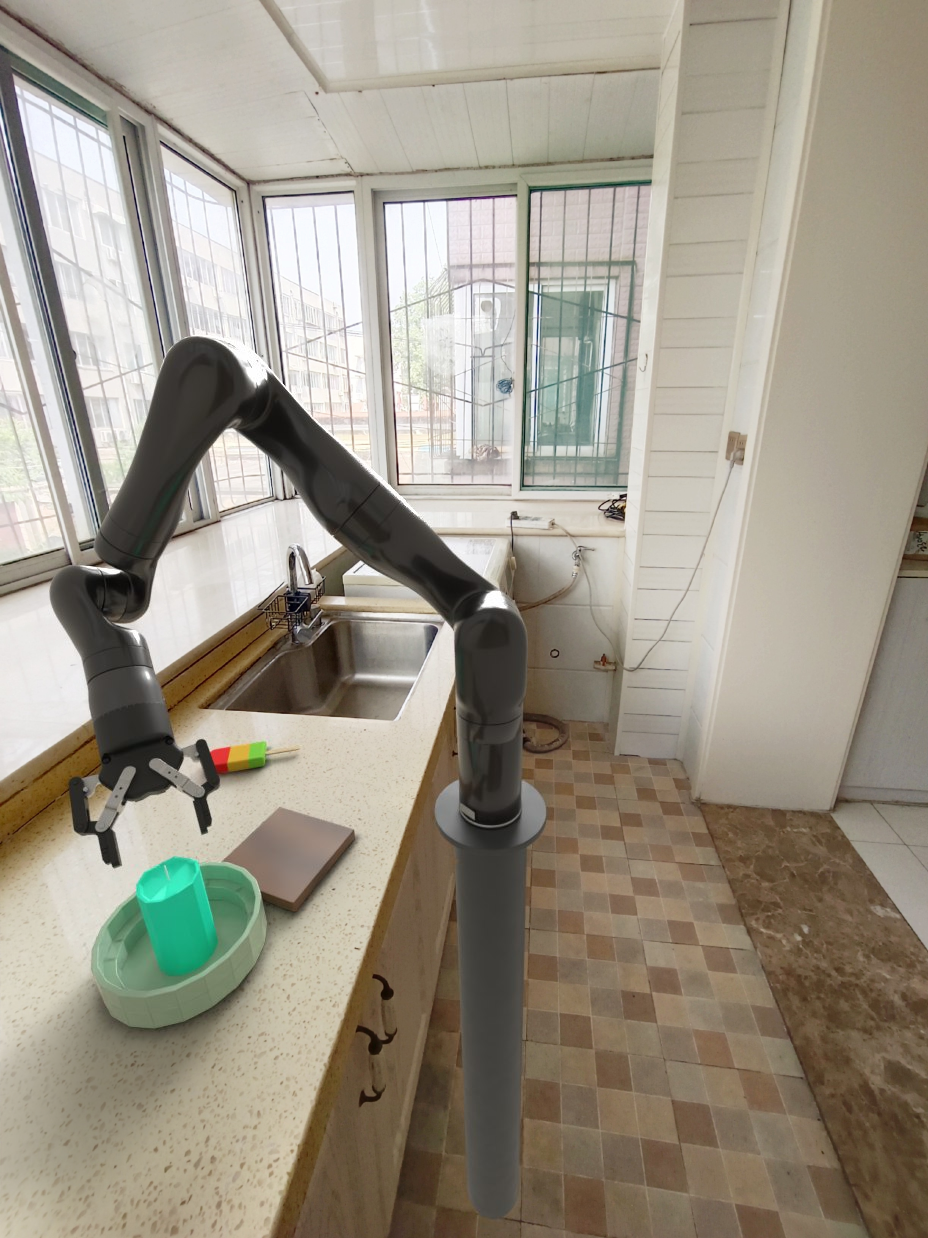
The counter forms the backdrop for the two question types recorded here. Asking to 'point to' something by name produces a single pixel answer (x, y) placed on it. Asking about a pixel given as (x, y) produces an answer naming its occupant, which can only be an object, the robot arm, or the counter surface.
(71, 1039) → the counter surface
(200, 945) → the candle
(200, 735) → the counter surface
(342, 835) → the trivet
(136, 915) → the bowl
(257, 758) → the popsicle
